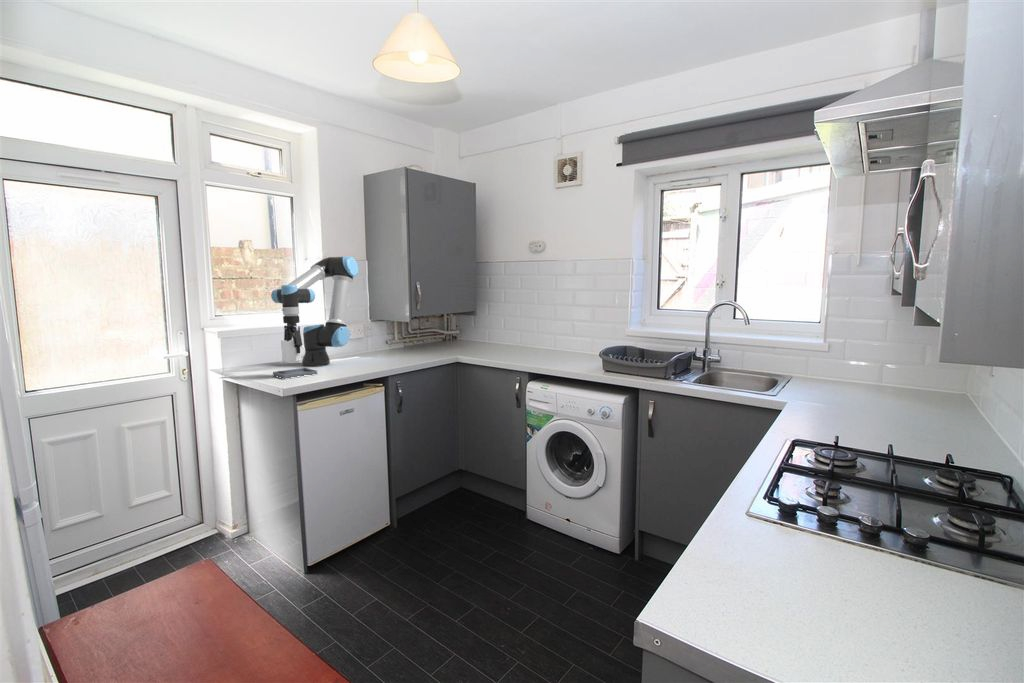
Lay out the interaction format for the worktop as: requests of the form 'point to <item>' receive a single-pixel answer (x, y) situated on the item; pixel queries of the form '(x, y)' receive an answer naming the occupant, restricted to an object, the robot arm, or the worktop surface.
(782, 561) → the worktop surface
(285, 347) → the mug
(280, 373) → the holder tray
